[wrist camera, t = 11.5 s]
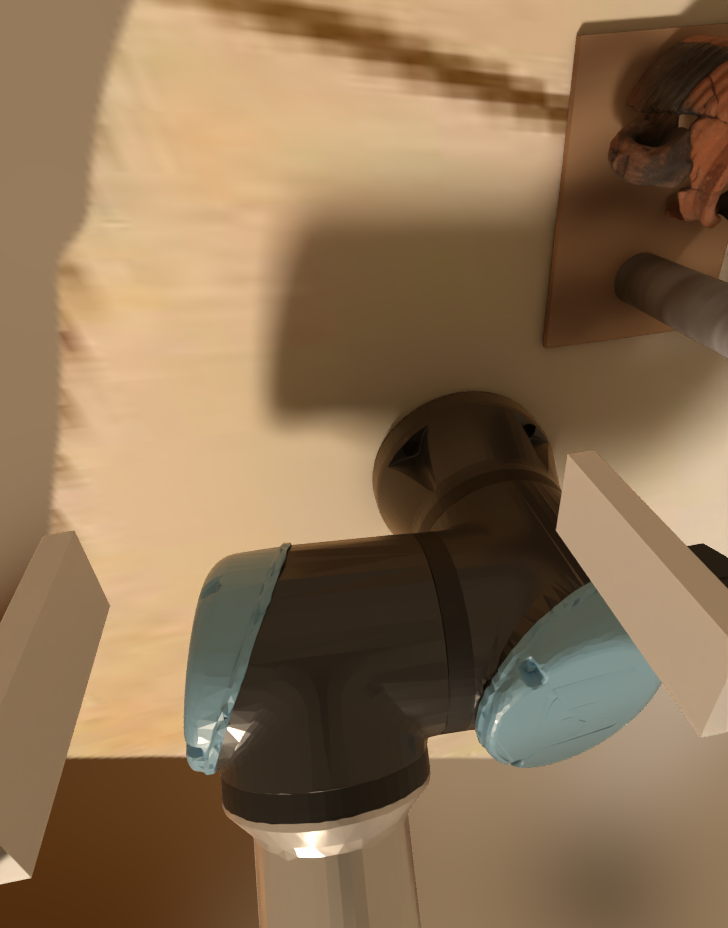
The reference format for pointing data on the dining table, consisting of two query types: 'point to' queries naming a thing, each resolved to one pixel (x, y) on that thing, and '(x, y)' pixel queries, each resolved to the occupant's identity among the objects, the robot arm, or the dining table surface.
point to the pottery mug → (680, 129)
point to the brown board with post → (627, 216)
